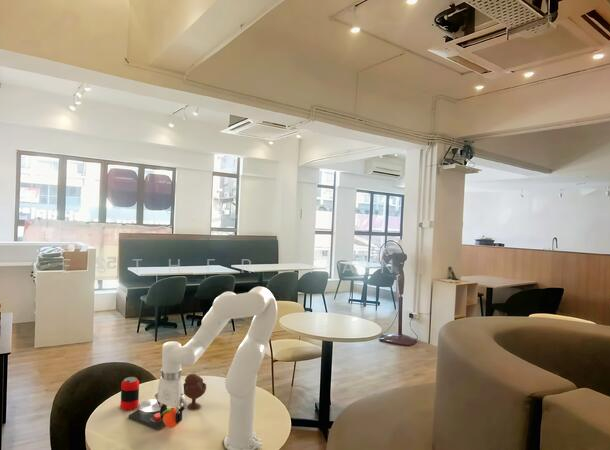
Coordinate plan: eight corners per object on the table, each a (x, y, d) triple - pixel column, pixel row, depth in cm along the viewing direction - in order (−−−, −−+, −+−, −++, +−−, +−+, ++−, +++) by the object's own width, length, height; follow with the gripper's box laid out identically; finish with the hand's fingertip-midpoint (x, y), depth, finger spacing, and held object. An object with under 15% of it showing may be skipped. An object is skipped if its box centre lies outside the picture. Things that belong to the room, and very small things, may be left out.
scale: (179, 415, 157) (179, 408, 157) (158, 431, 145) (158, 423, 145) (150, 405, 165) (150, 398, 165) (127, 419, 153) (128, 411, 153)
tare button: (163, 418, 150) (163, 414, 150) (158, 421, 147) (158, 418, 147) (157, 416, 151) (157, 412, 151) (152, 419, 149) (152, 415, 149)
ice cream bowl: (201, 414, 159) (203, 380, 159) (177, 410, 161) (178, 376, 161) (208, 402, 169) (210, 370, 169) (185, 399, 172) (187, 367, 171)
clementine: (162, 433, 141) (162, 414, 141) (158, 424, 147) (158, 406, 147) (182, 428, 144) (182, 410, 144) (178, 420, 150) (178, 402, 150)
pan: (169, 405, 160) (169, 403, 160) (152, 416, 150) (152, 414, 150) (150, 398, 165) (150, 396, 165) (132, 409, 155) (132, 407, 155)
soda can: (117, 409, 160) (118, 381, 160) (126, 401, 168) (127, 375, 168) (132, 412, 159) (133, 384, 158) (141, 403, 166) (142, 377, 166)
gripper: (148, 373, 146) (147, 417, 146) (183, 382, 138) (183, 430, 138) (160, 366, 152) (160, 409, 153) (195, 375, 144) (194, 420, 144)
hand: (171, 418), depth 145 cm, fingers closed on clementine, 7 cm apart
